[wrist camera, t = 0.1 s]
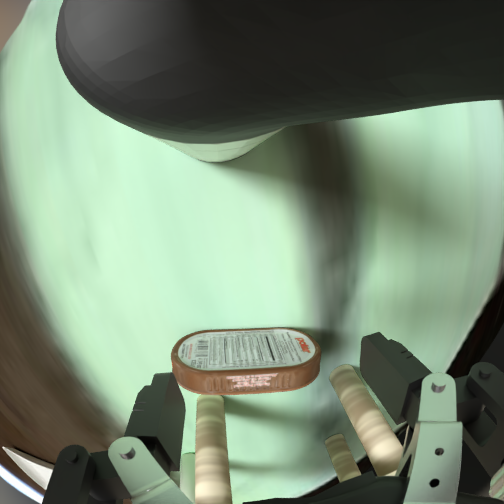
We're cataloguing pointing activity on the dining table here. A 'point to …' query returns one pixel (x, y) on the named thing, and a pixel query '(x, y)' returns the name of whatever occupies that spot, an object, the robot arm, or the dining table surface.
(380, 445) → the stool
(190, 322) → the dining table surface
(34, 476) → the square plate
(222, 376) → the tin
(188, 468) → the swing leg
